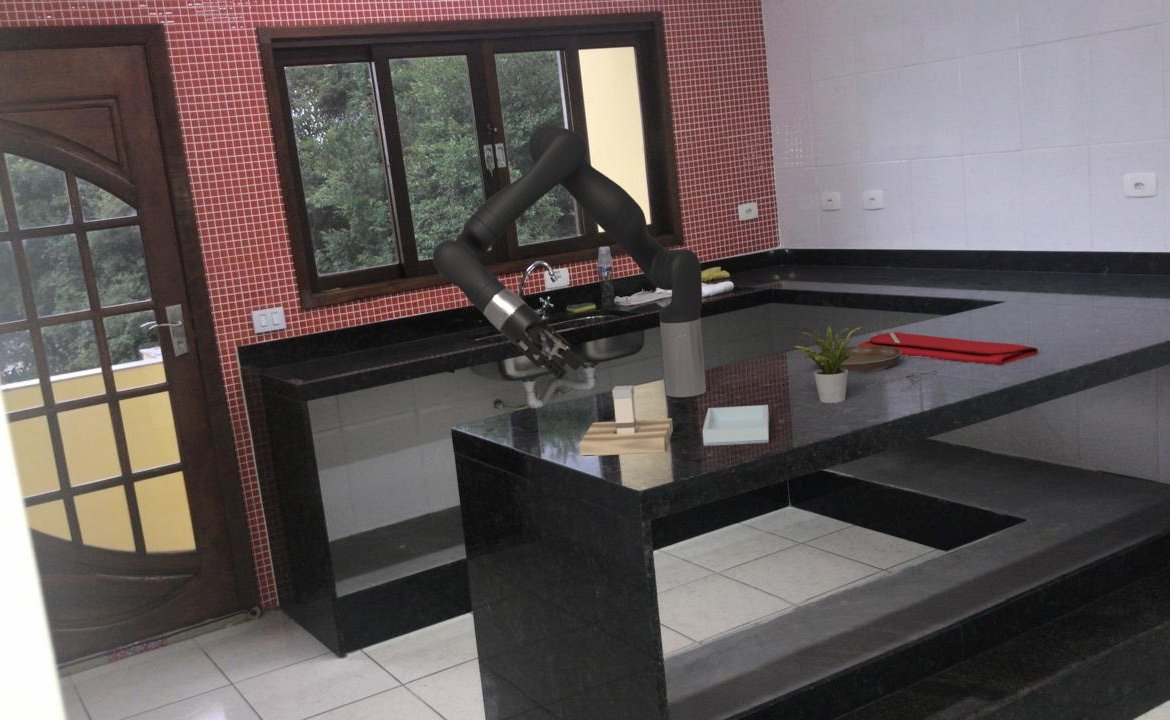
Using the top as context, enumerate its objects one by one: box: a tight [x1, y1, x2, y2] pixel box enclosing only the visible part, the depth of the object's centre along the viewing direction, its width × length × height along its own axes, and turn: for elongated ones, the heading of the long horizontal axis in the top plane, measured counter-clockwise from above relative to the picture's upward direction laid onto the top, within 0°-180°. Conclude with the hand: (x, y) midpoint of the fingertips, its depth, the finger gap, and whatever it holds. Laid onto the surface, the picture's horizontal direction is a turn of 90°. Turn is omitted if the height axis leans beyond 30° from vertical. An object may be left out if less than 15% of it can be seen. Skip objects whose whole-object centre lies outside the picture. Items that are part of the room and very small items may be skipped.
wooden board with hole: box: [578, 417, 674, 456], centre depth 207 cm, size 16×16×2 cm
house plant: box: [793, 325, 863, 404], centre depth 226 cm, size 14×14×16 cm
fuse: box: [612, 385, 637, 434], centre depth 207 cm, size 4×4×11 cm
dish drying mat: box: [858, 331, 1039, 366], centre depth 264 cm, size 16×41×4 cm, turn 36°
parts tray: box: [702, 404, 770, 447], centre depth 207 cm, size 18×12×3 cm, turn 170°
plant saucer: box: [817, 345, 901, 374], centre depth 258 cm, size 21×21×3 cm
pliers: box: [866, 369, 937, 392], centre depth 238 cm, size 10×1×20 cm
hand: (571, 371), depth 209 cm, fingers open, 8 cm apart
